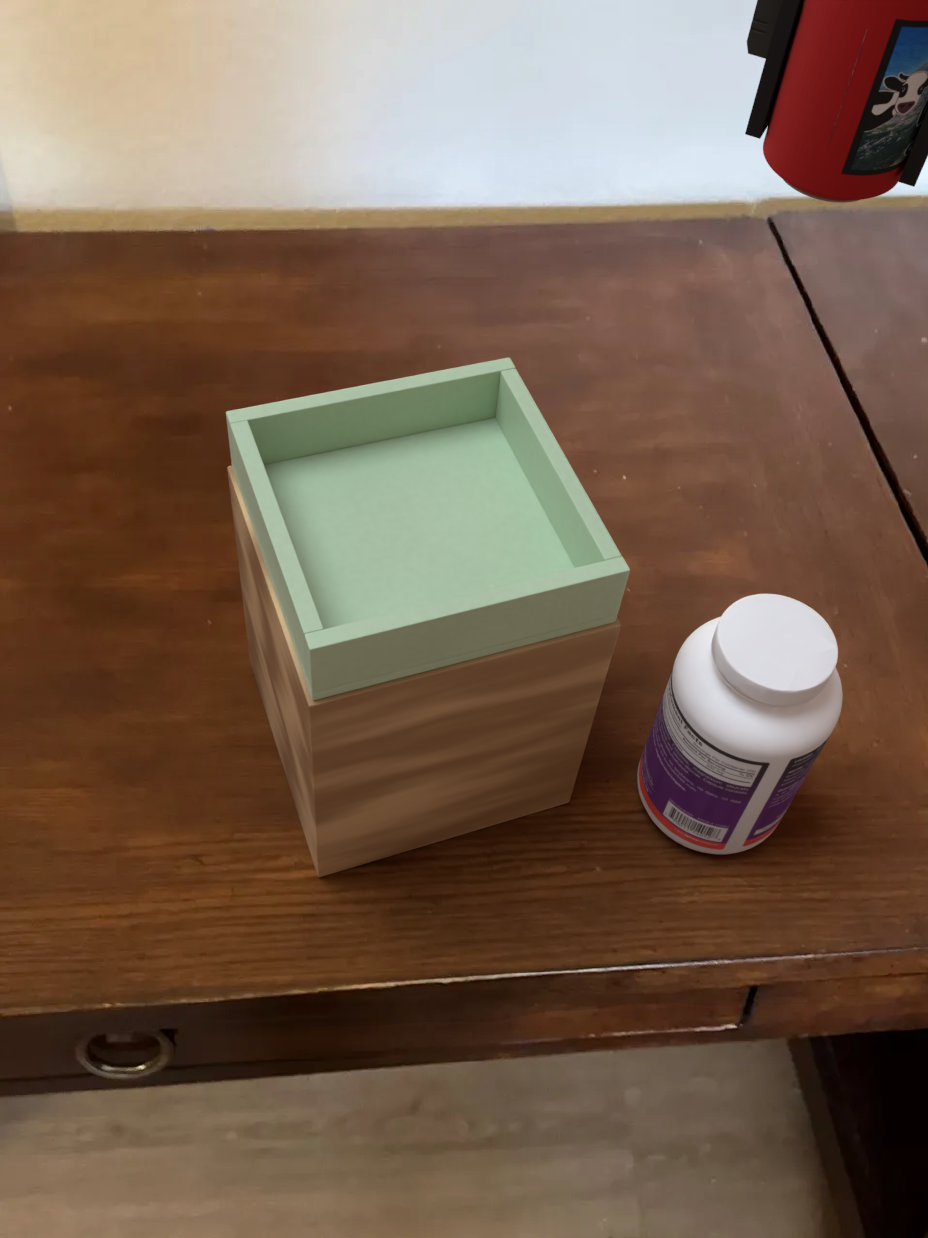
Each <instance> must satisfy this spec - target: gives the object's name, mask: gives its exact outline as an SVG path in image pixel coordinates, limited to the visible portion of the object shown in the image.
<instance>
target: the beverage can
mask: <svg viewBox="0 0 928 1238" xmlns="http://www.w3.org/2000/svg"><path fill="white" fill-rule="evenodd" d="M927 109H928V0H804V1H803V5H802V8H801V12H800V15H799V19H798V22H797V26H796V29H795V32H794V36H793V39H792V43H791V46H790V50H789V53H788V56H787V60H786V64H785V67H784V71H783V74H782V78H781V81H780V85H779V88H778V92H777V95H776V99H775V102H774V106H773V110H772V113H771V117H770V121H769V124H768V127H767V128H766V131H765V135H764V139H763V142H762V143H763V144H762V153H763V157H764V159H765V161H766V163H767V165H768V166H769V167H770V168H771V170H772V171H773V172H774V173H775V174H776V175H777V176H779V178H781V179H782V180H783V182H785V183H786V185H787V186H789V187H790V188H791V189H793V190H795V191H797V192H798V193H800V194H801V195H804V196H806V197H809V198H812V199H816V200H819V201H824V202H828V203H841V204H842V203H843V204H844V203H854V202H858V201H861V200H862V201H863V200H868V199H873V198H876V197H879V196H883V195H884V194H887V193H888V192H890V191H891V190H892V189H894V188H895V187H896V186H897V184H898V183H899V179H900V177H901V174H902V172H903V169H904V167H905V164H906V162H907V159H908V157H909V154H910V152H911V149H912V147H913V144H914V142H915V139H916V137H917V134H918V132H919V129H920V127H921V124H922V121H923V119H924V116H925V114H926V111H927Z"/></svg>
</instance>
